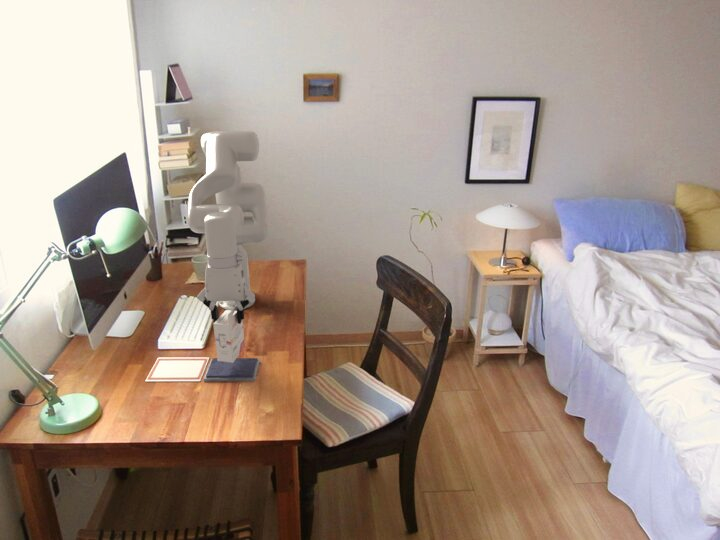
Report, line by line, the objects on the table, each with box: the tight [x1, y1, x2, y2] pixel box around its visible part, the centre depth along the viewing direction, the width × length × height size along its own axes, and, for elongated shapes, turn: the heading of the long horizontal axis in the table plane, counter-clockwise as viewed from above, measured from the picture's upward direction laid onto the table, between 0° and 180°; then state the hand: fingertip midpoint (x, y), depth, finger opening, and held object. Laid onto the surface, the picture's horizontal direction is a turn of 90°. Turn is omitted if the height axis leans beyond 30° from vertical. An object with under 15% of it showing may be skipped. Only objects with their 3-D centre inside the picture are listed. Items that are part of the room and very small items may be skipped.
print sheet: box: [144, 356, 210, 383], centre depth 160 cm, size 12×15×1 cm
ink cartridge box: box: [212, 305, 246, 363], centre depth 155 cm, size 9×5×15 cm, turn 169°
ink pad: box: [203, 357, 261, 383], centre depth 160 cm, size 10×14×2 cm
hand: (228, 320), depth 154 cm, fingers closed on ink cartridge box, 5 cm apart
